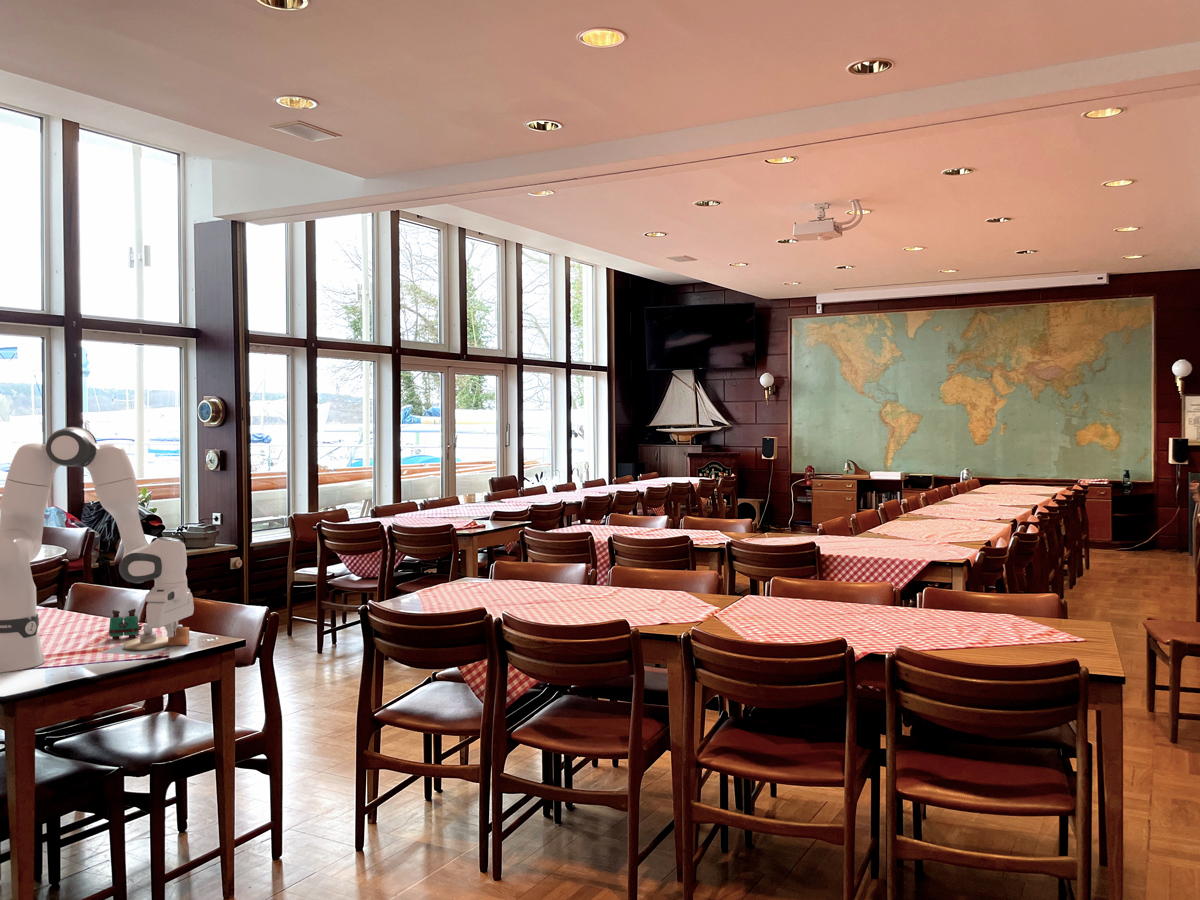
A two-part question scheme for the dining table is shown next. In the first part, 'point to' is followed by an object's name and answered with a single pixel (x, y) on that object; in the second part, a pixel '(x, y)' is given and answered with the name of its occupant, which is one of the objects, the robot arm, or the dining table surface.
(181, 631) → the maple flange
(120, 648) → the base plate
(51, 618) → the dining table surface
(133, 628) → the binoculars
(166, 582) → the robot arm
